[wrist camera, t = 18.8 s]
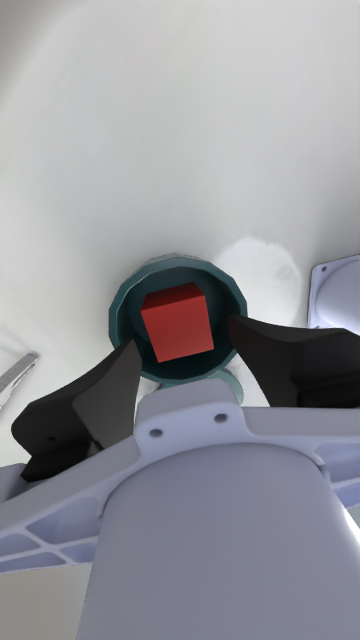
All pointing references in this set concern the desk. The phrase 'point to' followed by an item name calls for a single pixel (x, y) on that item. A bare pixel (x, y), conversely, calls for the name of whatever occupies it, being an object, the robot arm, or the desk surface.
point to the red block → (177, 321)
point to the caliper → (15, 376)
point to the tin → (166, 274)
